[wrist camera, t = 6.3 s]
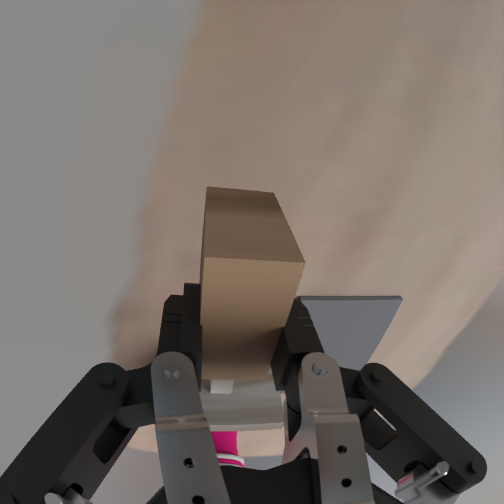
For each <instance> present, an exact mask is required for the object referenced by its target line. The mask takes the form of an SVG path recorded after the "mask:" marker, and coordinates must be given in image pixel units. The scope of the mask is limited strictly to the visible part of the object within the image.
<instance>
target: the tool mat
mask: <svg viewBox="0 0 504 504" xmlns="http://www.w3.org/2000/svg"><path fill="white" fill-rule="evenodd" d="M299 300H300V301H301V302H302V303H303V304H304V305H305V306H306V307H307V309H308V311H309V314H310V316H311V319H312V321H313V324H314V327H315V329H316V332H317V334H318V337H319V339H320V342H321V344H322V347H323V350H324V352H325V354H327V355H329V356H331V357H332V358H334V359H335V360H336V362H337V363H338V365H339V366H340V367H343V368H348V369H353V370H359V371H361V369H362V368H363V366H364V365H366V364H367V362H368V361H369V359H370V357H371V356H372V354H373V352H374V351H375V349H376V347H377V346H378V344H379V342H380V341H381V339H382V337H383V335H384V334H385V332H386V330H387V328H388V326H389V325H390V323H391V321H392V319H393V317H394V315H395V314H396V312H397V310H398V308H399V306H400V304H401V302H402V300H403V299H402V298H401V296H362V297H334V296H300V299H299ZM279 392H280V393H285V391H279Z"/></svg>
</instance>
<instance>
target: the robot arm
mask: <svg viewBox="0 0 504 504" xmlns="http://www.w3.org/2000/svg"><path fill="white" fill-rule="evenodd" d="M200 294H201V284H196V283H184V294H183V295H170V296H169V298H168V299H167V300H166V301H165V303H164V308H163V315H162V323H161V329H160V336H159V344H158V352H157V355H156V357H155V359H154V360H153V361H152V362H151V363H150V364H149V365H147V366H145V367H143V368H139V369H134V370H129V371H125V370H124V369H123V368H122V367H121V366H119V365H117V364H114V363H101V364H98V365H96V366H94V367H93V368H92V369H91V370H90V371H89V372H88V373H87V374H86V375H85V376H84V377H83V379H82V380H81V381H80V382H79V383H78V384H77V385H76V386H75V388H74V389H73V390H72V391H71V392H70V393H69V394H68V396H67V397H66V398H65V399H64V400H63V401H62V403H61V404H60V405H59V406H58V407H57V408H56V410H55V411H54V412H53V413H52V414H51V415H50V417H49V418H48V419H47V420H46V421H45V423H44V424H43V425H42V426H41V427H40V429H39V430H38V431H37V432H36V434H35V435H34V436H33V437H32V438H31V439H30V441H29V442H28V443H27V445H26V446H25V447H24V448H23V449H22V451H21V452H20V453H19V454H18V456H17V457H16V458H15V459H14V461H13V462H12V463H11V464H10V466H9V467H8V468H7V470H6V471H5V472H4V473H3V475H2V476H1V477H0V504H93V503H92V502H90V499H91V497H92V496H93V494H94V493H95V491H96V490H97V488H98V487H99V485H100V484H101V482H102V481H103V479H104V478H105V476H106V475H107V474H108V472H109V471H110V469H111V468H112V466H113V465H114V463H115V462H116V460H117V459H118V457H119V456H120V454H121V453H122V451H123V450H124V448H125V447H126V445H127V444H128V442H129V441H130V439H131V438H132V436H133V435H134V433H135V432H136V430H137V429H138V427H140V426H145V425H150V424H155V430H156V438H157V445H158V452H159V459H160V465H161V471H162V476H163V482H164V486H163V487H162V488H161V489H159V491H158V492H157V493H156V494H155V495H154V496H153V497H152V498H151V499H150V500H149V501H148V502H147V503H146V504H454V502H455V501H456V499H457V498H458V497H459V495H460V494H461V493H462V492H464V491H465V490H467V489H469V488H471V487H472V486H474V485H476V484H477V483H479V482H481V481H482V480H483V479H484V477H485V475H486V472H487V464H486V461H485V459H484V457H483V456H482V455H481V454H480V453H479V452H478V451H477V450H476V449H475V448H473V446H471V445H470V444H469V443H468V442H467V441H466V440H465V439H464V438H463V437H462V436H461V435H460V434H459V433H457V432H456V431H455V430H454V429H453V428H452V427H451V426H450V425H449V424H448V423H447V422H446V421H444V420H443V419H442V418H441V417H440V416H439V415H438V414H437V413H436V412H435V411H434V410H433V409H431V408H430V407H429V406H428V405H427V404H426V403H425V402H424V401H423V400H422V399H420V398H419V397H418V396H417V395H416V394H415V393H414V392H413V391H412V390H411V389H410V388H409V387H408V386H406V385H405V384H404V383H403V382H402V381H401V380H400V379H399V378H398V377H397V376H395V375H394V374H393V373H392V372H391V371H390V370H389V369H388V368H387V367H385V366H384V365H381V364H379V363H368V364H366V365H364V366H363V368H362V369H361V371H359V370H353V369H348V368H343V367H340V366H339V365H338V363H337V362H336V360H335V359H334V358H332V357H331V356H329V355H327V354H325V352H324V350H323V347H322V344H321V342H320V339H319V337H318V334H317V332H316V329H315V327H314V324H313V321H312V319H311V316H310V314H309V311H308V309H307V307H306V306H305V305H304V304H303V303H302V302H301V301H300V300H294V301H293V304H292V307H291V310H290V313H289V316H288V319H287V322H286V325H285V327H283V328H282V331H281V334H280V337H279V340H278V343H277V346H276V349H275V352H274V354H273V357H272V360H271V363H270V366H271V370H272V375H273V380H274V384H275V389H276V391H285V394H286V399H285V401H284V428H285V449H284V453H283V458H282V465H280V466H277V467H274V468H271V469H268V470H256V469H249V468H243V467H237V466H232V465H219V461H218V458H217V454H216V450H215V446H214V442H213V439H212V435H211V431H210V427H209V423H208V421H207V419H206V418H205V416H204V412H203V408H202V403H201V399H200V394H199V392H201V373H202V325H200ZM374 409H376V410H377V411H378V412H379V413H380V414H381V415H382V416H383V417H384V418H385V419H387V421H388V422H389V423H391V424H392V425H393V426H394V428H395V429H396V430H394V429H392V428H391V427H390V426H389V425H388V424H387V423H386V422H385V421H384V420H383V419H382V418H381V417H380V416H379V415H378V414H377V413H376V412H375V411H374ZM366 453H367V454H368V455H370V456H371V458H372V459H373V460H374V461H375V462H376V463H377V464H378V465H379V466H380V467H381V468H382V469H383V470H384V471H385V472H386V473H387V474H388V475H389V476H390V477H391V478H392V479H393V480H395V482H397V489H396V490H395V496H396V497H397V498H399V499H402V500H403V502H404V503H402V502H401V501H399V500H398V499H396V498H394V497H393V496H391V495H390V494H388V493H386V492H385V491H384V490H382V489H381V488H379V487H377V486H376V485H375V484H373V483H372V482H371V479H370V473H369V467H368V462H367V456H366Z"/></svg>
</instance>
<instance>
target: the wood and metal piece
mask: <svg viewBox="0 0 504 504" xmlns="http://www.w3.org/2000/svg"><path fill="white" fill-rule="evenodd" d="M304 266H305V261H304V258H303V256H302V254H301V252H300V249H299V247H298V245H297V243H296V240H295V238H294V236H293V234H292V231H291V229H290V227H289V225H288V223H287V220H286V218H285V216H284V214H283V212H282V210H281V207H280V205H279V203H278V201H277V199H276V197H275V195H274V193H270V192H261V191H251V190H240V189H229V188H217V187H207V191H206V202H205V213H204V225H203V237H202V251H201V266H200V282H199V284H201V294H200V325H202V373H201V392H199V394H200V399H201V403H202V408H203V412H204V416H205V418H206V419H207V421H208V423H209V427H210V431H252V430H268V429H281V428H282V427H283V425H284V411H283V407H282V402H281V397H280V392H279V391H276V389H275V384H274V380H273V375H272V370H271V366H270V363H271V360H272V357H273V354H274V352H275V349H276V346H277V343H278V340H279V337H280V334H281V331H282V328H283V327H285V325H286V322H287V319H288V316H289V313H290V310H291V307H292V304H293V301H294V298H295V294H296V291H297V288H298V285H299V282H300V279H301V276H302V272H303V269H304Z"/></svg>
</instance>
